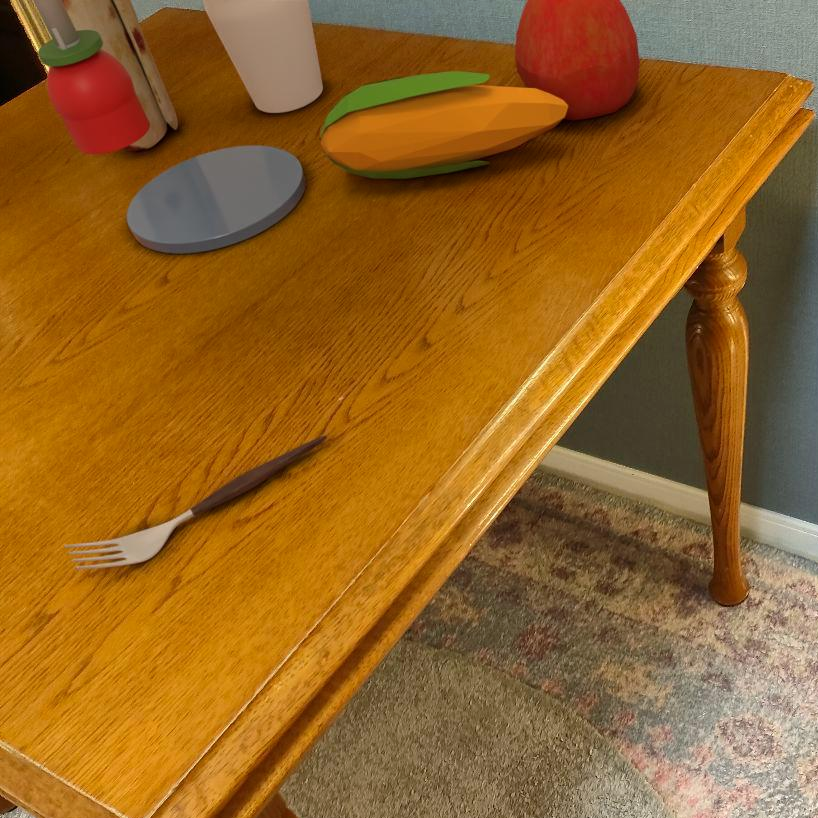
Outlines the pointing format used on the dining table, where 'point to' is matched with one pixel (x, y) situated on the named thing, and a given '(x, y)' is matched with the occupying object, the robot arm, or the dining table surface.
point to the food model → (128, 59)
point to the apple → (579, 54)
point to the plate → (216, 199)
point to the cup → (270, 50)
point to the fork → (185, 515)
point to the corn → (433, 124)
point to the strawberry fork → (89, 86)
